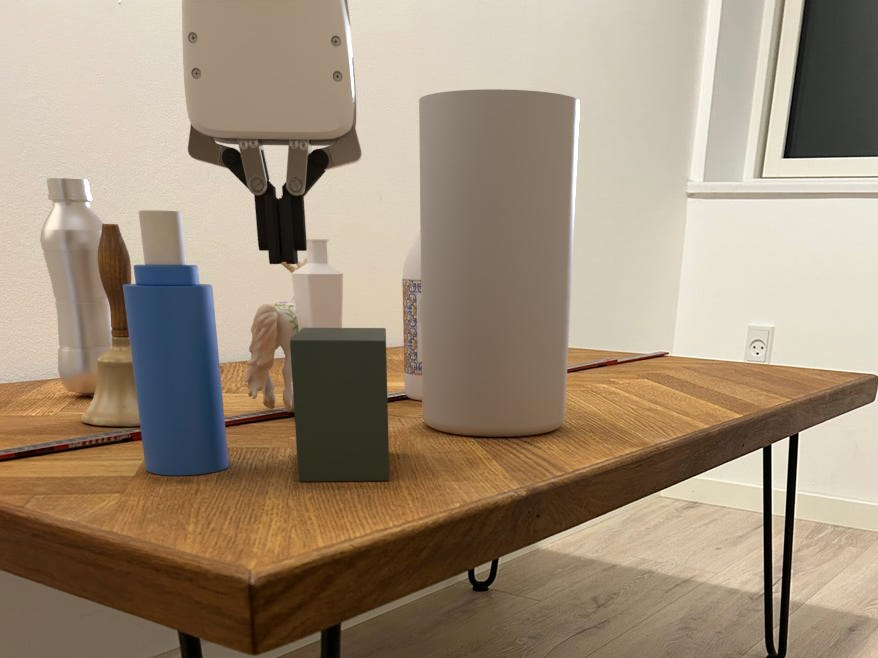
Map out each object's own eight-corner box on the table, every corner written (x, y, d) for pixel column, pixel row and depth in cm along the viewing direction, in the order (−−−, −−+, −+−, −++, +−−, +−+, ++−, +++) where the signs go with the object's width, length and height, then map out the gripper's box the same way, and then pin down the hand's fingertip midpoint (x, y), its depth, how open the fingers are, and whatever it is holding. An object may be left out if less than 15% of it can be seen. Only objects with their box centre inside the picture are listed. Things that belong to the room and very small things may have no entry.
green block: (298, 481, 62) (289, 340, 59) (309, 451, 72) (302, 327, 68) (389, 481, 63) (385, 340, 60) (388, 451, 72) (385, 327, 69)
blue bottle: (162, 510, 65) (2, 291, 58) (179, 491, 70) (32, 287, 64) (307, 423, 63) (158, 189, 57) (313, 410, 68) (177, 194, 62)
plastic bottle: (69, 391, 99) (37, 180, 92) (136, 390, 101) (110, 182, 93) (55, 400, 94) (20, 176, 86) (126, 399, 95) (98, 178, 87)
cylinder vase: (451, 442, 76) (452, 84, 66) (404, 417, 86) (398, 106, 77) (589, 433, 80) (609, 96, 70) (528, 411, 91) (537, 115, 81)
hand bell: (165, 409, 89) (144, 225, 83) (191, 422, 83) (171, 224, 77) (72, 416, 85) (43, 223, 79) (93, 430, 79) (62, 221, 72)
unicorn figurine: (351, 391, 102) (346, 257, 97) (326, 421, 84) (318, 260, 79) (285, 390, 102) (276, 257, 97) (245, 420, 84) (232, 259, 79)
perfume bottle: (343, 410, 90) (336, 239, 84) (356, 417, 86) (349, 239, 80) (295, 412, 88) (285, 238, 83) (306, 420, 85) (296, 238, 79)
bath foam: (423, 391, 103) (421, 187, 95) (481, 395, 100) (484, 186, 92) (392, 399, 97) (387, 183, 89) (453, 404, 94) (453, 182, 86)
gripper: (389, -53, 59) (397, 263, 66) (143, -61, 58) (179, 262, 65) (389, -93, 52) (399, 265, 59) (110, -103, 51) (154, 264, 58)
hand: (284, 263), depth 62 cm, fingers closed
